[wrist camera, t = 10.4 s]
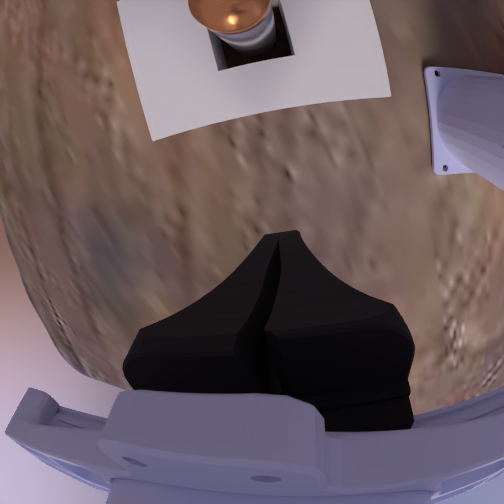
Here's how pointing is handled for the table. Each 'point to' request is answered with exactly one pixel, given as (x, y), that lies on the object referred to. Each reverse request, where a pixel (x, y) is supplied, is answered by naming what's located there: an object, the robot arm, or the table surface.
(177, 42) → the block
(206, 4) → the pin
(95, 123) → the table surface
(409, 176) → the table surface
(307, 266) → the robot arm
